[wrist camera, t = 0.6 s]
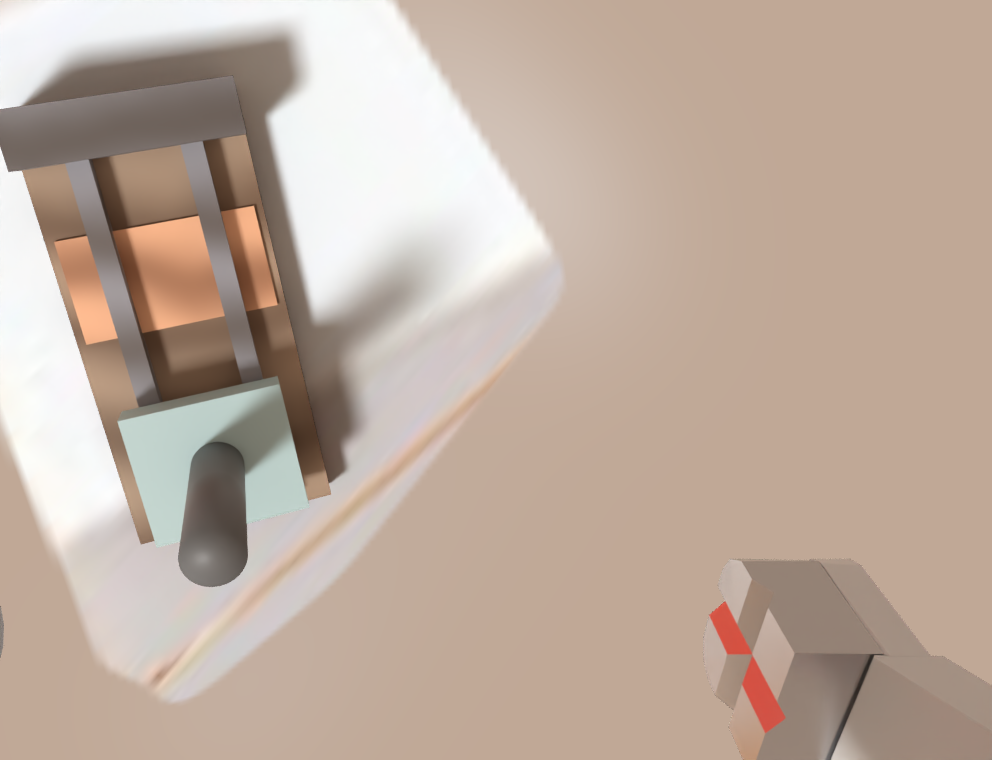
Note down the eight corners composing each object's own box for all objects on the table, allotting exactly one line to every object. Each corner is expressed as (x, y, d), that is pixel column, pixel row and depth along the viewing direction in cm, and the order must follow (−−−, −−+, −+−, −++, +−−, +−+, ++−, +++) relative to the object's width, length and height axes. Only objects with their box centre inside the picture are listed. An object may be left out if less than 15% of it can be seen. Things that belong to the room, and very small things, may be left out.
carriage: (121, 411, 49) (82, 503, 36) (277, 376, 52) (292, 451, 39) (159, 533, 52) (134, 661, 39) (306, 495, 54) (330, 603, 41)
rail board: (10, 114, 47) (-12, 110, 43) (232, 81, 50) (232, 75, 45) (143, 534, 55) (135, 566, 50) (328, 485, 57) (336, 512, 53)
